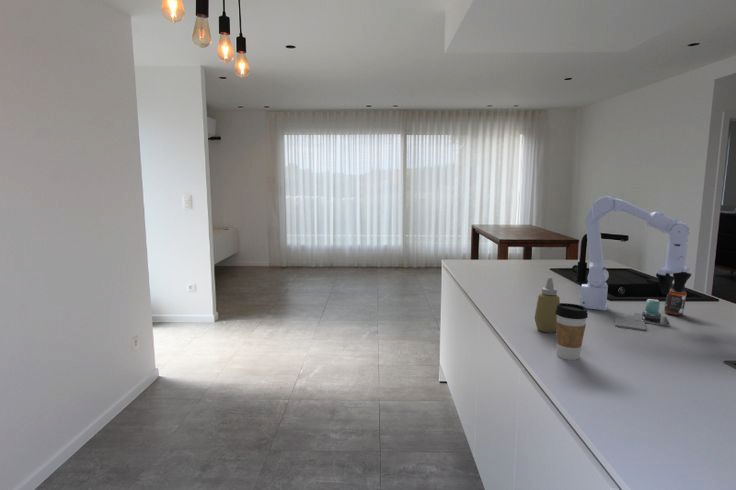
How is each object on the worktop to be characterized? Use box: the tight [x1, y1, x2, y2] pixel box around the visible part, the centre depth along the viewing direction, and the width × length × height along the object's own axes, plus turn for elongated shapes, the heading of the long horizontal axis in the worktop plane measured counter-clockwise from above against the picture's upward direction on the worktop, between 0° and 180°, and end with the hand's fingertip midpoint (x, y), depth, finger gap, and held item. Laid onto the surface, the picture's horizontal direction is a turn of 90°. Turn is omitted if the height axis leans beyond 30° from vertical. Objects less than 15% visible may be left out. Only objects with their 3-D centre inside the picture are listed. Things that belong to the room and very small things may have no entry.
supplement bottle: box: [663, 282, 688, 316], centre depth 162 cm, size 6×6×11 cm
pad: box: [614, 317, 647, 332], centre depth 150 cm, size 9×9×1 cm
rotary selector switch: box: [633, 310, 670, 327], centre depth 155 cm, size 10×10×3 cm
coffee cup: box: [555, 302, 589, 361], centre depth 123 cm, size 8×8×15 cm
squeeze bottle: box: [534, 277, 561, 333], centre depth 143 cm, size 8×8×18 cm
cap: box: [643, 298, 661, 315], centre depth 155 cm, size 5×5×5 cm
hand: (671, 292), depth 156 cm, fingers open, 7 cm apart
